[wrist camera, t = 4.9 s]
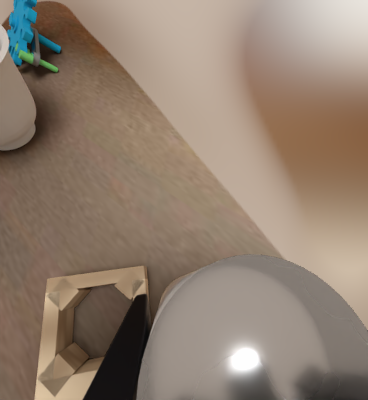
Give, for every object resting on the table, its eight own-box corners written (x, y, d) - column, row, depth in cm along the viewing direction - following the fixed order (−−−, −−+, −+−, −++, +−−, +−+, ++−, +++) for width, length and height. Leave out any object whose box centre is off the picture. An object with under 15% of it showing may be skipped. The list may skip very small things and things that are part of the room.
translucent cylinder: (233, 334, 13) (466, 509, 3) (168, 360, 12) (184, 734, 2) (210, 266, 15) (312, 229, 4) (151, 286, 14) (113, 294, 4)
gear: (-1, 23, 30) (20, -42, 25) (44, 48, 35) (70, -1, 30) (2, 82, 28) (25, 25, 22) (50, 100, 33) (78, 57, 27)
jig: (162, 494, 15) (161, 544, 12) (45, 529, 14) (14, 592, 11) (146, 267, 20) (144, 265, 18) (64, 279, 19) (47, 278, 17)
